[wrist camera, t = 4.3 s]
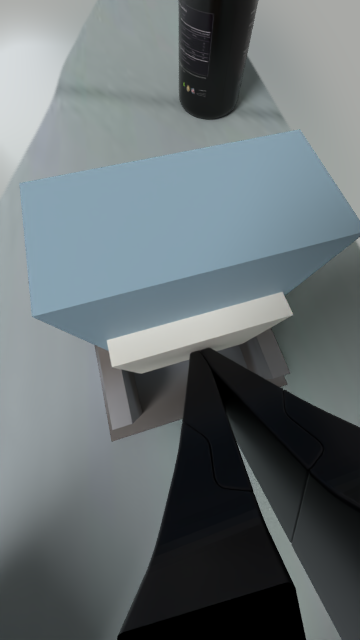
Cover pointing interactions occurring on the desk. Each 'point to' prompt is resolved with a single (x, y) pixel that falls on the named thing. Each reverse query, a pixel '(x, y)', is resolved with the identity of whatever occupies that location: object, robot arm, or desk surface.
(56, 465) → the desk surface
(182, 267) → the blue white block
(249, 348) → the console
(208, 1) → the supplement bottle
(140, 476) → the desk surface
